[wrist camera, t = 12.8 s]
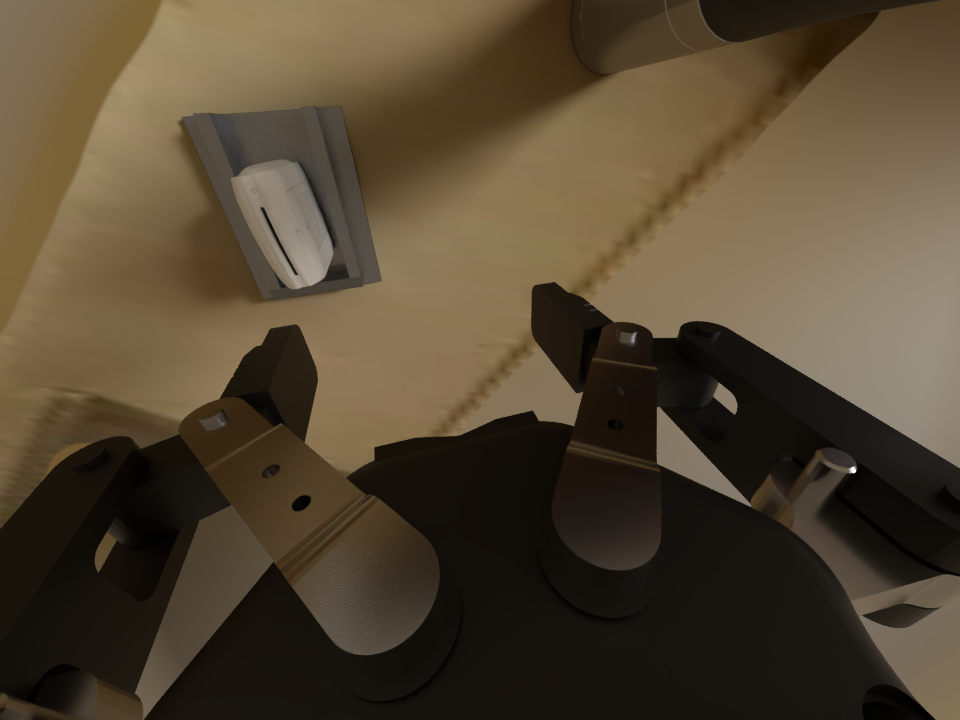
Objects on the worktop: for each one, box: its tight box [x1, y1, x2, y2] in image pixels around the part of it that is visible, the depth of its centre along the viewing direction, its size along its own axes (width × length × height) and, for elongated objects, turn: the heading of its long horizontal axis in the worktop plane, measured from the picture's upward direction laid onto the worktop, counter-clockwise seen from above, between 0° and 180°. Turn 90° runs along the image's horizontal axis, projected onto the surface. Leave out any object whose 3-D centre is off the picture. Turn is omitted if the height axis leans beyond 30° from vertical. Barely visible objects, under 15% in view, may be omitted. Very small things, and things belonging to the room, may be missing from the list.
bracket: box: [182, 106, 382, 300], centre depth 37 cm, size 14×18×4 cm
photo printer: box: [231, 159, 334, 289], centre depth 33 cm, size 10×4×12 cm, turn 10°
